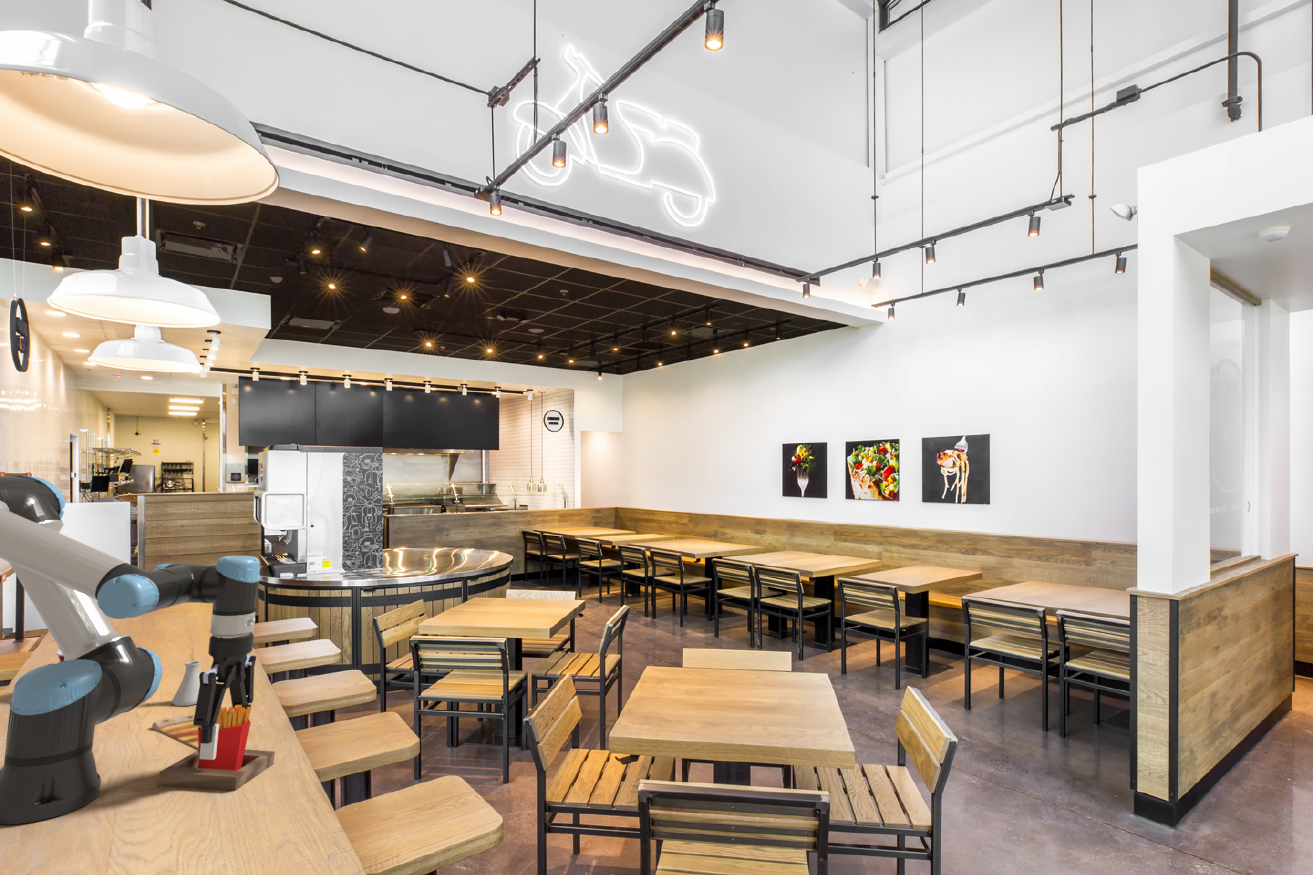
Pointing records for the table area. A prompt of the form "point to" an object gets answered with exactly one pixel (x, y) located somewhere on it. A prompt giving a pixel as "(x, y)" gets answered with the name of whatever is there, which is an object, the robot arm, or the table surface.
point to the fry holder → (215, 772)
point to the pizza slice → (179, 729)
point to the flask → (188, 686)
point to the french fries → (229, 739)
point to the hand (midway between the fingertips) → (221, 750)
